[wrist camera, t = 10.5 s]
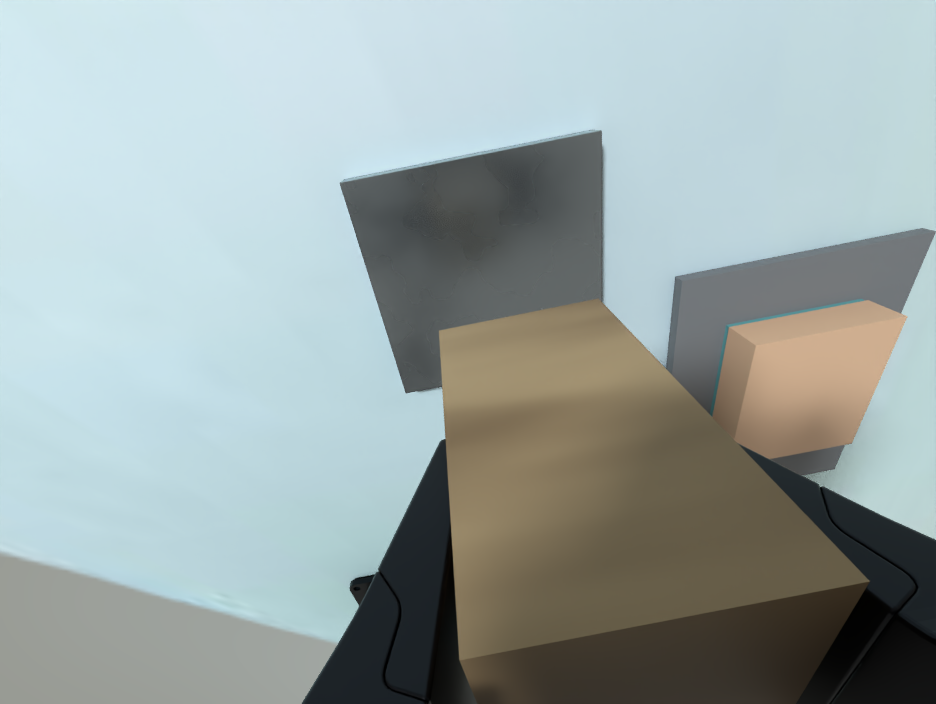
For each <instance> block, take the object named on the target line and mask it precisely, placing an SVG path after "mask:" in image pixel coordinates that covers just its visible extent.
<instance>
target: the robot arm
mask: <svg viewBox="0 0 936 704" xmlns="http://www.w3.org/2000/svg"><path fill="white" fill-rule="evenodd" d="M738 444H739V443H738ZM739 445H740V446H741V448H742V449H743V450H744V451H745V452H746V453H747V454H748V455H749V456H750V457H751V458H752V459H753V460H754V461H755V462H756V463H757V464H758V465H759V466H760V467H761V468H762V469H763V470H764V471H765V473H766V474H767V475H768V476H769V477H770V478H771V479H772V480H773V481H774V482H775V483H776V484H777V485H778V486H779V487H780V488H781V489H782V490H783V491H784V492H785V493H786V494H787V495H788V497H789V498H790V499H791V500H792V501H793V502H794V503H795V504H796V505H797V506H798V507H799V508H800V509H801V510H802V511H803V512H804V513H805V514H806V515H807V516H808V517H809V518H810V519H811V520H812V522H813V523H814V524H815V525H816V526H817V527H818V528H819V529H820V530H821V531H822V532H823V533H824V534H825V535H826V536H827V537H828V538H829V539H830V540H831V541H832V542H833V543H834V544H835V545H836V547H837V548H838V549H839V550H840V551H841V552H842V553H843V554H844V555H845V556H846V557H847V558H848V559H849V560H850V561H851V562H852V563H853V564H854V565H855V566H856V567H857V568H858V569H859V570H860V572H861V573H862V574H863V575H864V576H865V577H866V578H867V579H868V580H869V581H870V582H869V584H868V586H867V587H866V589H865V591H864V592H863V594H862V595H861V597H860V599H859V600H858V602H857V604H856V605H855V607H854V609H853V610H852V612H851V614H850V615H849V617H848V619H847V620H846V622H845V624H844V625H843V627H842V629H841V630H840V632H839V633H838V635H837V637H836V638H835V640H834V642H833V643H832V645H831V647H830V648H829V650H828V652H827V653H826V655H825V657H824V658H823V660H822V662H821V663H820V665H819V667H818V668H817V670H816V671H815V673H814V675H813V676H812V678H811V680H810V681H809V683H808V685H807V686H806V688H805V690H804V691H803V693H802V695H801V696H800V698H799V700H798V701H797V703H796V704H936V540H935V539H933V538H930V537H928V536H926V535H924V534H921V533H919V532H917V531H915V530H913V529H910V528H908V527H906V526H904V525H902V524H899V523H897V522H895V521H893V520H891V519H888V518H886V517H884V516H882V515H880V514H878V513H876V512H874V511H872V510H870V509H868V508H866V507H864V506H861V505H859V504H857V503H855V502H853V501H851V500H849V499H847V498H845V497H843V496H841V495H839V494H837V493H835V492H833V491H831V490H829V489H827V488H825V487H820V486H819V484H817V483H815V482H813V481H811V480H809V479H807V478H806V477H804V476H802V475H800V474H798V473H796V472H794V471H792V470H790V469H788V468H786V467H784V466H782V465H780V464H778V463H776V462H774V461H772V460H770V459H768V458H766V457H764V456H762V455H760V454H758V453H756V452H754V451H752V450H750V449H748V448H746V447H745V446H743V445H741V444H739ZM378 570H379V572H376V574H375V576H371V577H366V578H361V579H355V580H353V581H351V583H350V591H351V593H352V594H353V596H354V598H355V599H356V601H357V603H358V604H359V608H358V610H357V611H356V613H355V615H354V617H353V619H352V621H351V622H350V624H349V626H348V628H347V629H346V631H345V633H344V634H343V636H342V638H341V640H340V641H339V643H338V645H337V646H336V648H335V650H334V652H333V653H332V655H331V656H330V658H329V660H328V661H327V663H326V665H325V666H324V668H323V669H322V671H321V673H320V674H319V676H318V678H317V679H316V681H315V682H314V684H313V686H312V687H311V689H310V691H309V693H308V694H307V696H306V697H305V699H304V700H303V702H302V704H477V702H476V699H475V697H474V695H473V692H472V690H471V687H470V685H469V682H468V680H467V678H466V675H465V673H464V670H463V668H462V665H461V663H460V660H459V645H458V629H457V613H456V597H455V581H454V565H453V549H452V533H451V517H450V501H449V485H448V469H447V453H446V439H444V440H441V441H440V443H439V445H438V447H437V449H436V451H435V453H434V455H433V457H432V459H431V461H430V463H429V465H428V467H427V469H426V471H425V473H424V476H423V478H422V480H421V482H420V484H419V486H418V488H417V490H416V492H415V494H414V496H413V498H412V500H411V502H410V504H409V506H408V508H407V510H406V513H405V515H404V517H403V519H402V521H401V523H400V525H399V527H398V529H397V531H396V533H395V535H394V537H393V539H392V541H391V543H390V545H389V547H388V549H387V552H386V554H385V556H384V558H383V560H382V562H381V564H380V566H379V568H378Z"/></svg>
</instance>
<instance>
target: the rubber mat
mask: <svg viewBox="0 0 936 704" xmlns="http://www.w3.org/2000/svg"><path fill="white" fill-rule="evenodd" d="M935 232H936V231H932V230H928V229H923V228H921V229H916V230H911V231H906V232H901V233H896V234H891V235H886V236H880V237H875V238H870V239H865V240H860V241H855V242H850V243H845V244H840V245H835V246H829V247H824V248H819V249H814V250H809V251H804V252H799V253H794V254H789V255H784V256H778V257H773V258H768V259H763V260H758V261H753V262H748V263H743V264H738V265H733V266H727V267H722V268H717V269H712V270H707V271H702V272H697V273H692V274H687V275H682V276H676V277H675V287H674V297H673V307H672V316H671V326H670V336H669V346H668V356H667V366H666V369H667V370H668V371H669V373H670V374H671V375H672V376H673V377H674V378H675V379H676V380H677V381H678V382H679V383H680V384H681V385H682V386H683V387H684V388H685V389H686V390H687V391H688V392H689V393H690V394H691V395H692V396H693V398H694V399H695V400H696V401H697V402H698V403H699V404H700V405H701V406H702V407H703V408H704V409H705V410H706V411H707V412H708V413H709V414H710V411H711V406H712V400H713V395H714V389H715V383H716V378H717V372H718V367H719V361H720V356H721V350H722V345H723V339H724V334H725V328H726V325H729V324H734V323H739V322H744V321H749V320H755V319H760V318H765V317H770V316H775V315H780V314H785V313H791V312H796V311H801V310H806V309H811V308H816V307H821V306H827V305H832V304H837V303H842V302H847V301H852V300H857V299H863V300H865V301H866V300H869V301H872V302H874V303H877V304H879V305H881V306H884V307H886V308H889V309H891V310H893V311H896V312H898V313H901V312H902V310H903V307H904V305H905V303H906V300H907V298H908V296H909V293H910V291H911V289H912V286H913V284H914V282H915V279H916V277H917V275H918V272H919V270H920V267H921V265H922V263H923V260H924V258H925V256H926V253H927V251H928V249H929V246H930V244H931V242H932V239H933V237H934V235H935ZM843 448H844V445H841V446H836V447H831V448H825V449H820V450H815V451H810V452H804V453H799V454H794V455H789V456H783V457H778V458H773V459H770V460H772V461H774V462H776V463H778V464H780V465H782V466H784V467H786V468H788V469H790V470H792V471H794V472H796V473H798V474H800V475H806V474H811V473H816V472H822V471H827V470H832V469H835V466H836V464H837V462H838V459H839V457H840V455H841V452H842V450H843Z"/></svg>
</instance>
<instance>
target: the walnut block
mask: <svg viewBox="0 0 936 704" xmlns="http://www.w3.org/2000/svg"><path fill="white" fill-rule="evenodd" d="M439 341H440V357H441V373H442V389H443V405H444V421H445V437H446V453H447V469H448V485H449V501H450V517H451V533H452V549H453V565H454V581H455V597H456V613H457V629H458V645H459V660H460V663H461V665H462V668H463V670H464V673H465V675H466V678H467V680H468V682H469V685H470V687H471V690H472V692H473V695H474V697H475V699H476V702H477V704H796V703H797V701H798V700H799V698H800V696H801V695H802V693H803V691H804V690H805V688H806V686H807V685H808V683H809V681H810V680H811V678H812V676H813V675H814V673H815V671H816V670H817V668H818V667H819V665H820V663H821V662H822V660H823V658H824V657H825V655H826V653H827V652H828V650H829V648H830V647H831V645H832V643H833V642H834V640H835V638H836V637H837V635H838V633H839V632H840V630H841V629H842V627H843V625H844V624H845V622H846V620H847V619H848V617H849V615H850V614H851V612H852V610H853V609H854V607H855V605H856V604H857V602H858V600H859V599H860V597H861V595H862V594H863V592H864V591H865V589H866V587H867V586H868V584H869V582H870V581H869V580H868V579H867V578H866V577H865V576H864V575H863V574H862V573H861V572H860V570H859V569H858V568H857V567H856V566H855V565H854V564H853V563H852V562H851V561H850V560H849V559H848V558H847V557H846V556H845V555H844V554H843V553H842V552H841V551H840V550H839V549H838V548H837V547H836V545H835V544H834V543H833V542H832V541H831V540H830V539H829V538H828V537H827V536H826V535H825V534H824V533H823V532H822V531H821V530H820V529H819V528H818V527H817V526H816V525H815V524H814V523H813V522H812V520H811V519H810V518H809V517H808V516H807V515H806V514H805V513H804V512H803V511H802V510H801V509H800V508H799V507H798V506H797V505H796V504H795V503H794V502H793V501H792V500H791V499H790V498H789V497H788V495H787V494H786V493H785V492H784V491H783V490H782V489H781V488H780V487H779V486H778V485H777V484H776V483H775V482H774V481H773V480H772V479H771V478H770V477H769V476H768V475H767V474H766V473H765V471H764V470H763V469H762V468H761V467H760V466H759V465H758V464H757V463H756V462H755V461H754V460H753V459H752V458H751V457H750V456H749V455H748V454H747V453H746V452H745V451H744V450H743V449H742V448H741V446H740V445H739V444H738V443H737V442H736V441H735V440H734V439H733V438H732V437H731V436H730V435H729V434H728V433H727V432H726V431H725V430H724V429H723V428H722V427H721V426H720V425H719V424H718V423H717V421H716V420H715V419H714V418H713V417H712V416H711V415H710V414H709V413H708V412H707V411H706V410H705V409H704V408H703V407H702V406H701V405H700V404H699V403H698V402H697V401H696V400H695V399H694V398H693V396H692V395H691V394H690V393H689V392H688V391H687V390H686V389H685V388H684V387H683V386H682V385H681V384H680V383H679V382H678V381H677V380H676V379H675V378H674V377H673V376H672V375H671V374H670V373H669V371H668V370H667V369H666V368H665V367H664V366H663V365H662V364H661V363H660V362H659V361H658V360H657V359H656V358H655V357H654V356H653V355H652V354H651V353H650V352H649V351H648V350H647V349H646V348H645V346H644V345H643V344H642V343H641V342H640V341H639V340H638V339H637V338H636V337H635V336H634V335H633V334H632V333H631V332H630V331H629V330H628V329H627V328H626V327H625V326H624V325H623V324H622V323H621V321H620V320H619V319H618V318H617V317H616V316H615V315H614V314H613V313H612V312H611V311H610V310H609V309H608V308H607V307H606V306H605V305H604V304H603V303H602V302H601V301H600V300H599V299H593V300H588V301H583V302H578V303H574V304H569V305H564V306H559V307H554V308H549V309H544V310H539V311H534V312H529V313H524V314H519V315H514V316H509V317H504V318H499V319H494V320H489V321H484V322H479V323H474V324H469V325H464V326H459V327H454V328H449V329H444V330H439Z"/></svg>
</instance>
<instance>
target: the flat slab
mask: <svg viewBox="0 0 936 704" xmlns="http://www.w3.org/2000/svg"><path fill="white" fill-rule="evenodd" d="M906 318H907V316H905V315H903V314H901V313H898V312H896V311H893V310H891V309H889V308H886V307H884V306H881V305H879V304H877V303H874V302H872V301H869V300H866V301H865V300H863V299H857V300H852V301H847V302H842V303H837V304H832V305H827V306H821V307H816V308H811V309H806V310H801V311H796V312H791V313H785V314H780V315H775V316H770V317H765V318H760V319H755V320H749V321H744V322H739V323H734V324H729V325H726V328H725V334H724V339H723V345H722V350H721V356H720V361H719V367H718V372H717V378H716V383H715V389H714V395H713V400H712V406H711V411H710V415H711V416H712V417H713V418H714V419H715V420H716V421H717V423H718V424H719V425H720V426H721V427H722V428H723V429H724V430H725V431H726V432H727V433H728V434H729V435H730V436H731V437H732V438H733V439H734V440H735V441H736V442H737V443H739V444H741V445H743V446H745V447H746V448H748V449H750V450H752V451H754V452H756V453H758V454H760V455H762V456H764V457H766V458H768V459H773V458H778V457H783V456H789V455H794V454H799V453H804V452H810V451H815V450H820V449H825V448H831V447H836V446H841V445H846V444H851V443H852V442H853V439H854V437H855V435H856V432H857V430H858V428H859V426H860V423H861V421H862V419H863V416H864V414H865V412H866V410H867V407H868V405H869V403H870V400H871V398H872V396H873V394H874V391H875V389H876V387H877V385H878V382H879V380H880V378H881V375H882V373H883V371H884V369H885V366H886V364H887V362H888V359H889V357H890V355H891V353H892V350H893V348H894V346H895V343H896V341H897V339H898V337H899V334H900V332H901V330H902V327H903V325H904V323H905V321H906Z"/></svg>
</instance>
